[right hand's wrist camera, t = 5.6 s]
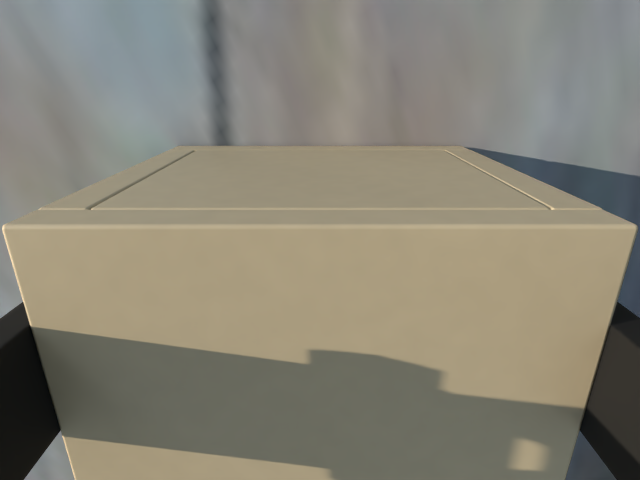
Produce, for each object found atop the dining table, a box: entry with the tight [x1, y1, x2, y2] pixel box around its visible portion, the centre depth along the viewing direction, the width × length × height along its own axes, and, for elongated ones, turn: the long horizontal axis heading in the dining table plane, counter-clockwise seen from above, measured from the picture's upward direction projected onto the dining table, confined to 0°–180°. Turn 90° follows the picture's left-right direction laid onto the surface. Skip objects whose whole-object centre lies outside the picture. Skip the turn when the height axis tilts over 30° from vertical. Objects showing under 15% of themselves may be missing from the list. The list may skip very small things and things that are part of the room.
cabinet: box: [2, 146, 638, 480], centre depth 16 cm, size 20×12×10 cm, turn 0°
